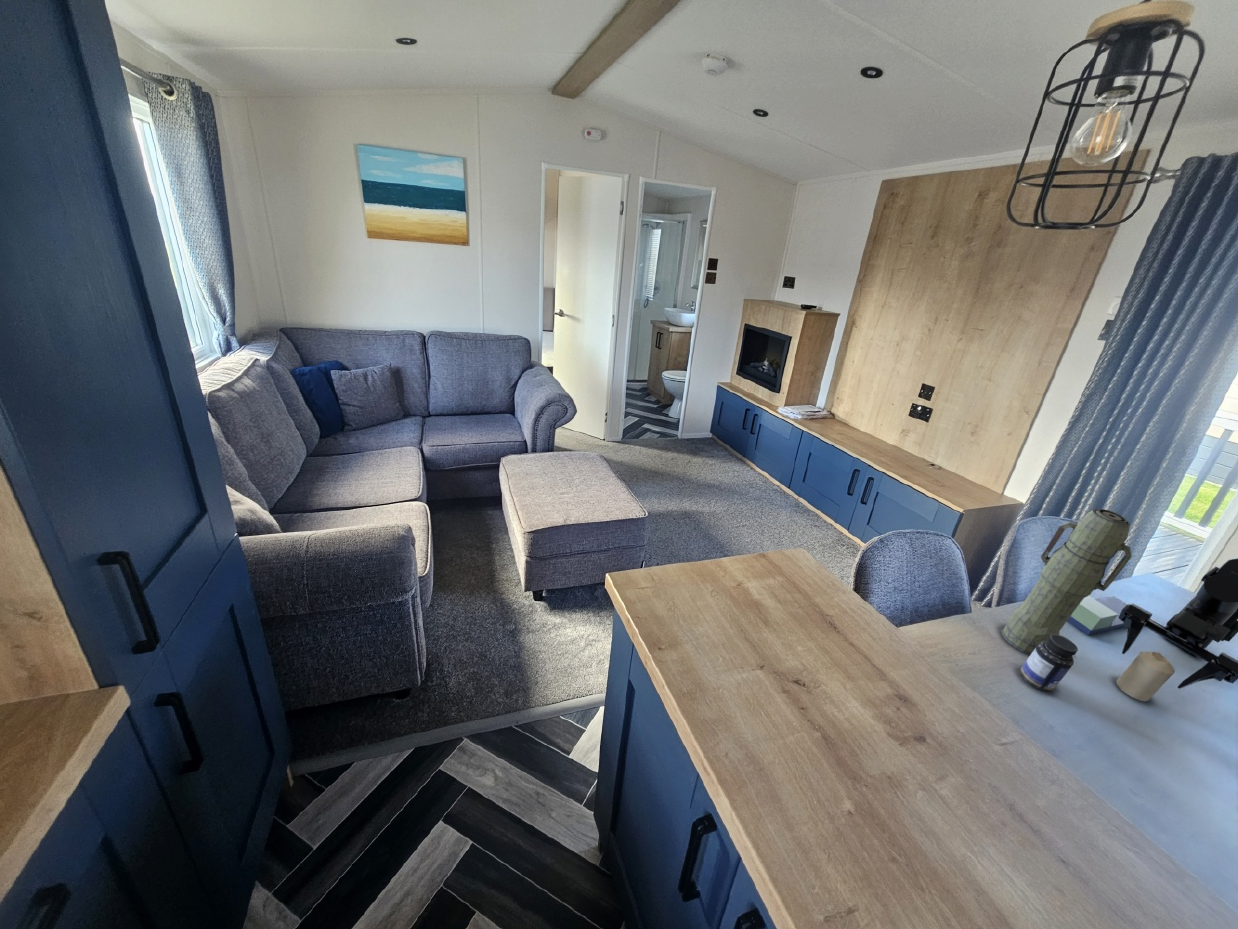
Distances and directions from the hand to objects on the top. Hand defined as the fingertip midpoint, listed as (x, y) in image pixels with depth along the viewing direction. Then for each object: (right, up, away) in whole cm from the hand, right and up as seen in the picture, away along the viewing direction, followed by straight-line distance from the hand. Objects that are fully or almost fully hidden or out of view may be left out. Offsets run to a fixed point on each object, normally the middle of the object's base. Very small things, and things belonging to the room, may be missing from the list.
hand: (1149, 670), depth 106 cm
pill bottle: (-22, -3, +2) cm, 22 cm away
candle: (0, -6, +4) cm, 7 cm away
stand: (+14, +3, +26) cm, 30 cm away
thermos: (-16, +1, +13) cm, 21 cm away
